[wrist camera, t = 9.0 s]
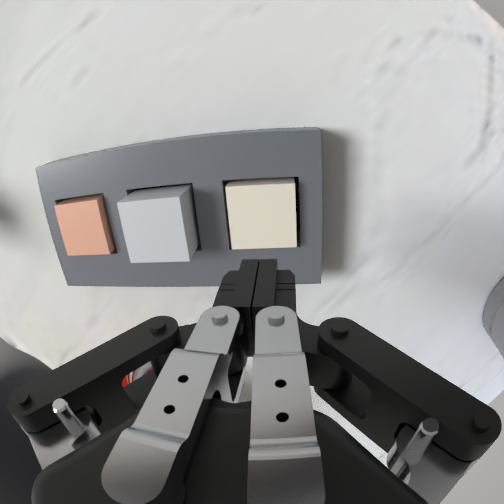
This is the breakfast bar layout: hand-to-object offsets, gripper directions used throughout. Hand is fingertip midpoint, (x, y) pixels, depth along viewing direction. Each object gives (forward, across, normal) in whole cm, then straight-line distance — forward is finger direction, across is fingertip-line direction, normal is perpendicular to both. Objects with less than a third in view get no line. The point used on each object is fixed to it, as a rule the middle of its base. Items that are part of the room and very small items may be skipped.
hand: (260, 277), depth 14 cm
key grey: (+9, +8, 0) cm, 12 cm away
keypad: (+11, +8, 0) cm, 13 cm away
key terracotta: (+10, +15, 0) cm, 18 cm away
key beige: (+11, +1, 0) cm, 11 cm away
